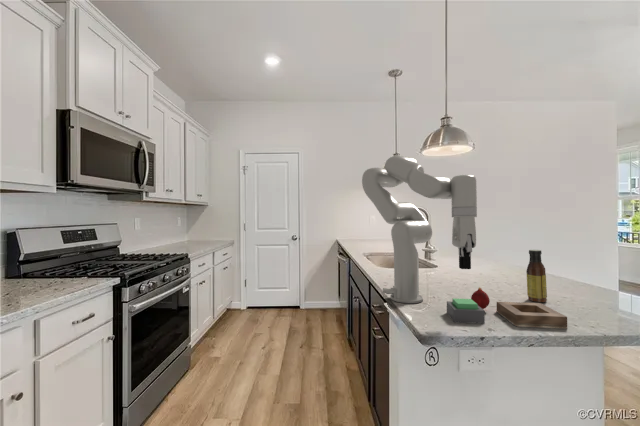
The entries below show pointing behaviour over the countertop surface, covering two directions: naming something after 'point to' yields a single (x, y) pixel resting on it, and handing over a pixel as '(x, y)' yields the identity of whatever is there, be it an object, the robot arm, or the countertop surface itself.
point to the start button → (464, 304)
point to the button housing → (465, 314)
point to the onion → (480, 298)
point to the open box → (531, 315)
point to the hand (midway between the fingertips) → (464, 268)
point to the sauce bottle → (536, 278)
